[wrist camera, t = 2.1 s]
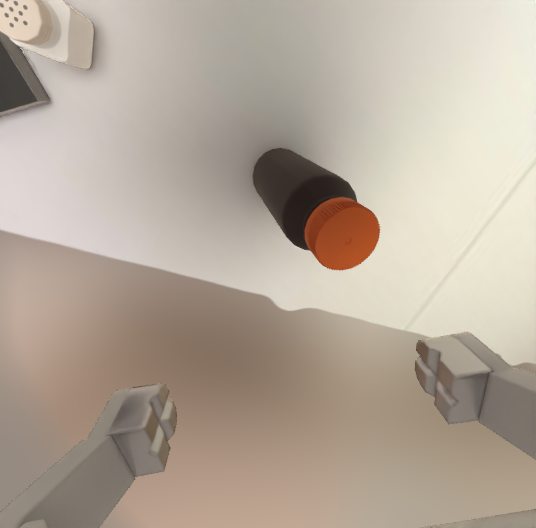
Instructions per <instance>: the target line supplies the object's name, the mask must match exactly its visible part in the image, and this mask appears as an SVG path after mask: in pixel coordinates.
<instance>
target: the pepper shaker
mask: <svg viewBox="0 0 536 528" xmlns="http://www.w3.org/2000/svg"><path fill="white" fill-rule="evenodd" d="M0 31H1V32H2V33H4V34H5V35H7V36H8V37H9V38H10V40H11V41H12V42H14V43H15V44H16V45H18V46H20V47H22V48H25V49H27V50H30V51H32V52H35V53H37V54H40V55H42V56H45V57H48V58H50V59H53V60H55V61H58V62H61V63H64V64H68V65H71V66H75V67H78V68H82V69H89V68H90V66H91V61H92V48H93V36H94V28H93V24H92V23H91V22H90V21H89V20H88V19H87V18H86V17H84V16H83V15H82V14H80V13H79V12H78V11H76V10H75V9H74V8H72V7H71V6H70V5H68V4H67V3H66V2H64V1H63V0H0Z"/></svg>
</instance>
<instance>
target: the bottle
mask: <svg viewBox="0 0 536 528" xmlns="http://www.w3.org/2000/svg"><path fill="white" fill-rule="evenodd" d="M253 182H254V186H255V188H256V190H257V192H258V194H259V195H260V197H261V198H262V200H263V202H264V203H265V205H266V206H267V208H268V209H269V211H270V212H271V214H272V215H273V217H274V218H275V220H276V221H277V223H278V225H279V226H280V228H281V229H282V231H283V232H284V234H285V235H286V237H287V238H288V239H289V240H290V241H291V242H292V243H293V244H294V245H296V246H298V247H300V248H302V249H304V250H310V251H311V252H312V253H313V254H314V256H315V257H316V258H317V260H318V261H319V262H320V263H321V264H322V265H323V266H325V267H327V268H329V269H330V268H331V269H332V270H333V269H334V270H339V271H340V270H345V269H349V268H350V269H351V268H352V267H354V266H356V265H358V264H361V262H363V261H364V260H366V258H368V256H370V254H371V253H372V251H373V250H374V249H375V246H376V244H377V242H378V238H379V233H380V232H379V231H380V229H379V227H380V226H379V224H378V221H377V220H378V219H376V218H377V217H376V216H375V215H374V213H372V211H370V210H369V209H367V208H366V207H364V206H362V205H361V204H359V203H357V199H356V195H355V192H354V190H353V189H352V187H351V186H350V185H349V183H348V182H347V181H345V180H343V179H342V178H340V177H339V176H337V175H335V174H334V173H332V172H330V171H328V170H326V169H324V168H322V167H320V166H318V165H317V164H315V163H313V162H311V161H309V160H307V159H305V158H303V157H302V156H300V155H298V154H296V153H294V152H292V151H290V150H287V149H283V148H279V149H272V150H270V151H268V152H266V153H265V154H264V155H263V156H262V157H261V158H260V159H259V160H258V162H257V164H256V165H255V167H254V172H253Z"/></svg>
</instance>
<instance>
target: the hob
mask: <svg viewBox="0 0 536 528" xmlns="http://www.w3.org/2000/svg"><path fill="white" fill-rule="evenodd" d="M49 101H50V99H49V97H48V96H47V94H46V92H45V91H44V89H43V87H42V85H41V84H40V82H39V80H38V79H37V77H36V75H35V74H34V72H33V70H32V69H31V67H30V65H29V64H28V62H27V60H26V59H25V57H24V55H23V54H22V52H21V50H20V48H19V47H18V45H16V44H15V43H14V42H12V41H11V40H10V38H9V37H8V36H7V35H5V34H4V33H2V32H1V31H0V116H2V115H6V114H9V113H13V112H16V111H19V110H23V109H26V108H29V107H33V106H36V105H39V104H43V103H46V102H49Z"/></svg>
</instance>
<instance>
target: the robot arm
mask: <svg viewBox="0 0 536 528" xmlns="http://www.w3.org/2000/svg"><path fill="white" fill-rule="evenodd" d="M416 351H417V352H418V353H419V355H420V356H419V357H418V359H417V360H416V361H415V371H416V375H417V379H418V381H419V382H420V385H421V386H422V388H423V389H424V391H425V392H426V393H428V394H430V395H432V396H434V397H435V403H434V404H435V406H436V407H437V409H438V410H439V411H440V413H441V414H442V415H443V417H444V418H445V420H446V421H447V422H448V424H455V423H463V422H469V421H478V420H479V422H480V423H481V424H483V425H484V426H486V427H487V428H489V429H490V430H492V431H493V432H495V433H496V434H498V435H499V436H501V437H502V438H504V439H505V440H507V441H509V442H510V443H511V444H513V445H515V446H516V447H517V448H519V449H520V450H522V451H523V452H525V453H526V454H528V455H529V456H531V457H532V458H534V459H536V374H533V373H531V372H528V371H526V370H523V369H520V368H515V369H513V368H512V367H511V366H510V365H509V364H507V363H506V362H505V361H504V360H503V359H501V358H500V357H499V356H498V355H497V354H495V353H494V352H493V351H492V350H491V349H489V348H488V347H487V346H486V345H485V344H483V343H482V342H481V341H480V340H479V339H477V338H476V337H475V336H474V335H473V334H471V333H469V332H463V333H457V334H452V335H447V336H441V337H435V338H430V339H424V340H419V341H418V343H417V346H416ZM168 394H169V390H168V388H167V385H166V384H163V383H160V384H153V385H147V386H139V387H133V388H128V389H120V390H116V391H115V392H114V393H113V394H112V395H111V397H110V399H109V401H108V403H107V404H106V406H105V408H104V410H103V411H102V413H101V415H100V417H99V419H98V420H97V422H96V424H95V426H94V428H93V429H92V431H91V433H90V435H89V436H88V438H87V440H82V441H80V442H79V443H78V444H77V445H76V446H75V447H73V448H72V449H71V450H70V451H69V452H68V453H67V454H65V455H64V456H63V457H62V458H61V459H60V460H59V461H57V462H56V463H55V464H54V465H53V466H52V467H50V468H49V469H48V470H47V471H46V472H45V473H44V474H42V475H41V476H40V477H39V478H38V479H37V480H36V481H34V482H33V483H32V484H31V485H30V486H29V487H28V488H26V490H24V491H23V492H22V493H21V494H19V495H18V496H17V497H16V498H15V499H14V500H13V501H11V502H10V503H9V504H8V505H7V506H6V507H5V508H3V509H2V510H1V511H0V528H99V527H100V526H101V525H102V523H103V522H104V520H105V519H106V518H107V517H108V515H109V514H110V512H111V511H112V510H113V508H114V507H115V506H116V504H117V503H118V502H119V500H120V499H121V498H122V496H123V495H124V494H125V492H126V491H127V490H128V488H129V487H130V485H131V484H132V483H133V481H134V480H135V477H138V476H143V475H148V474H153V473H158V472H163V471H164V470H165V466H166V463H167V459H168V455H169V451H170V446H169V444H168V440H169V439H170V438H171V437H172V435H173V434H174V432H175V428H176V422H177V413H176V407H175V404H174V402H173V401H172V400H170V399H169V398H167V397H168ZM423 528H536V509H533V510H527V511H521V512H515V513H509V514H503V515H496V516H491V517H484V518H478V519H472V520H466V521H460V522H453V523H447V524H441V525H435V526H429V527H423Z"/></svg>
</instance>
